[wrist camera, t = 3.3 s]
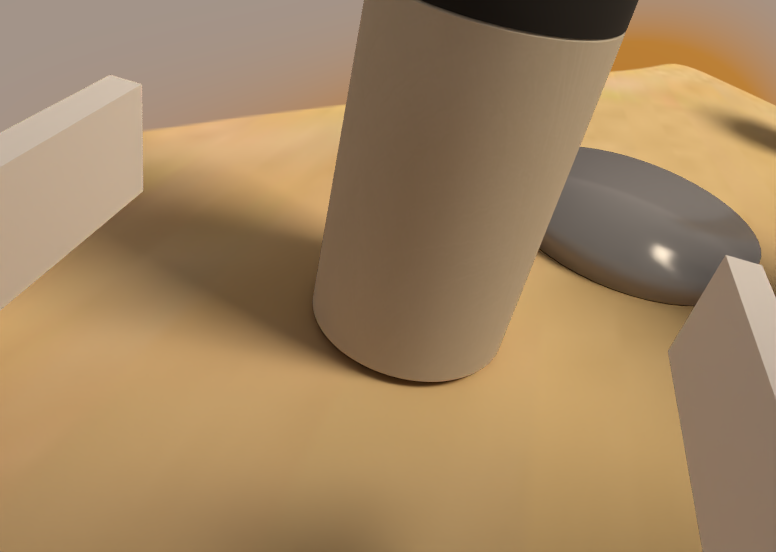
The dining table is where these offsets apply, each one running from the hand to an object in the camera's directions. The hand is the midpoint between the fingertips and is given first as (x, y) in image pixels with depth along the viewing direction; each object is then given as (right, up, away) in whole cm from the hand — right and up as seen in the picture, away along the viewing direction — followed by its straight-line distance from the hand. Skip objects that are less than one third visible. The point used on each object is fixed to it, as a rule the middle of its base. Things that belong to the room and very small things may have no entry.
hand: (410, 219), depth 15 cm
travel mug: (0, -3, +13) cm, 14 cm away
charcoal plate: (+13, +2, +24) cm, 27 cm away
